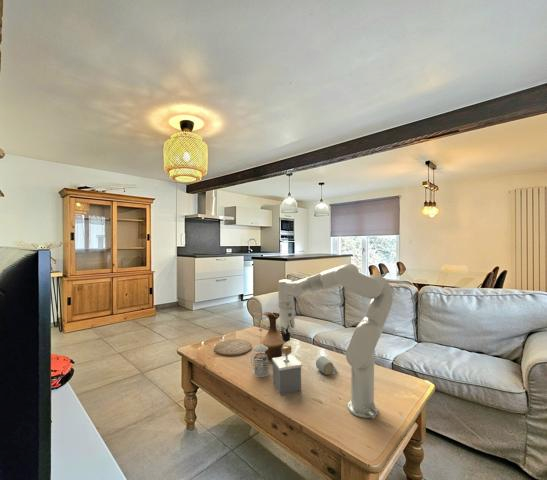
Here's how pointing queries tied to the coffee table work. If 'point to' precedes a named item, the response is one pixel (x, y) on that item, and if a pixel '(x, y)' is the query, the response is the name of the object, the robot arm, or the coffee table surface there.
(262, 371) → the french press
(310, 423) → the coffee table surface
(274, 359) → the socket block
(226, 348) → the trivet
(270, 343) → the pitcher
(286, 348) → the plunger
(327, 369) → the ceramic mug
